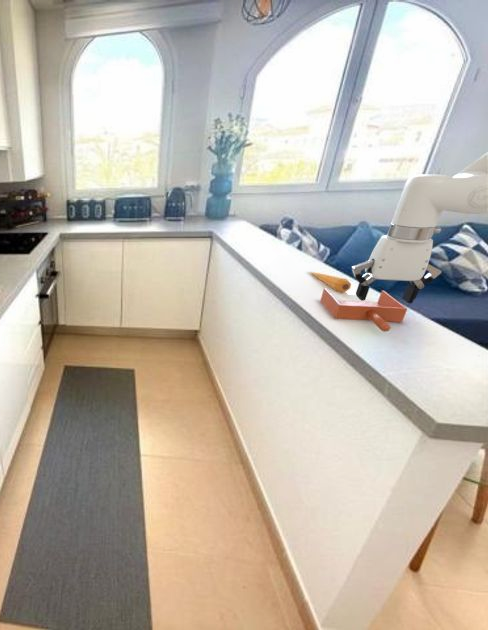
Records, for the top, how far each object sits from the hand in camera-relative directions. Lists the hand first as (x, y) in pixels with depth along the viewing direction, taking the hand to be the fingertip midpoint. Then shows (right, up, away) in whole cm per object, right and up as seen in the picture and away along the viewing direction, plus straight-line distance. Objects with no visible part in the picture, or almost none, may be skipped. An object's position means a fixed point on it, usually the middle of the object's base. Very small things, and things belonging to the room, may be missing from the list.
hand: (383, 299), depth 87 cm
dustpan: (+3, -5, +8) cm, 10 cm away
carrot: (+10, +7, +32) cm, 35 cm away
